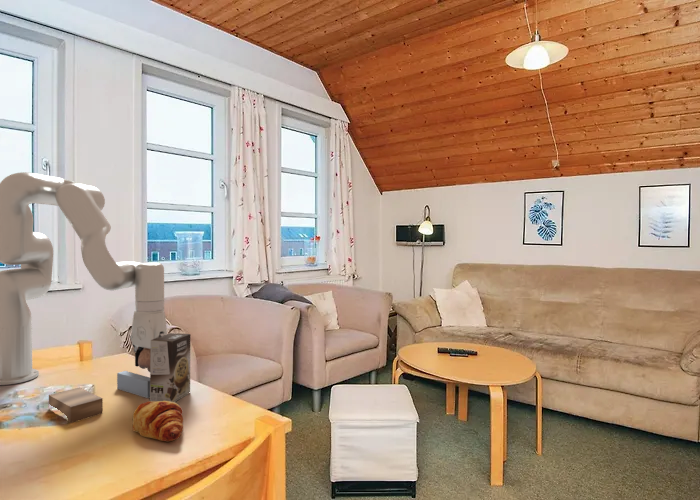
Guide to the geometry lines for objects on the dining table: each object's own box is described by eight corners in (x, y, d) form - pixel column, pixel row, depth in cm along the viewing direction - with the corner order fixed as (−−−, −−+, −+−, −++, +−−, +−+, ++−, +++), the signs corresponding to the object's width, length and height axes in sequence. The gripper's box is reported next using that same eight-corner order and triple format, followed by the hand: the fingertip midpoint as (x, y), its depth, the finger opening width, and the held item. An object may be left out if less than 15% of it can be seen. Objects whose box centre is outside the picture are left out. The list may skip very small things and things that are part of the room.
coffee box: (171, 404, 116) (172, 341, 115) (149, 402, 117) (149, 339, 116) (191, 392, 125) (191, 333, 124) (170, 390, 126) (170, 332, 125)
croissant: (129, 432, 108) (111, 406, 105) (167, 403, 114) (151, 378, 111) (165, 465, 92) (145, 435, 89) (206, 429, 98) (189, 400, 95)
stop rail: (117, 388, 126) (117, 372, 126) (125, 386, 129) (125, 370, 128) (147, 398, 120) (147, 381, 120) (155, 395, 122) (155, 379, 122)
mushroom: (164, 375, 130) (164, 347, 129) (140, 378, 126) (140, 349, 126) (159, 367, 136) (159, 341, 136) (136, 370, 133) (136, 343, 132)
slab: (48, 411, 111) (48, 394, 111) (79, 402, 117) (79, 387, 117) (70, 424, 104) (70, 407, 104) (102, 414, 110) (102, 398, 110)
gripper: (118, 305, 132) (119, 366, 132) (158, 311, 123) (158, 376, 124) (142, 302, 138) (142, 359, 139) (181, 307, 129) (181, 369, 130)
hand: (150, 367), depth 131 cm, fingers closed on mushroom, 7 cm apart
